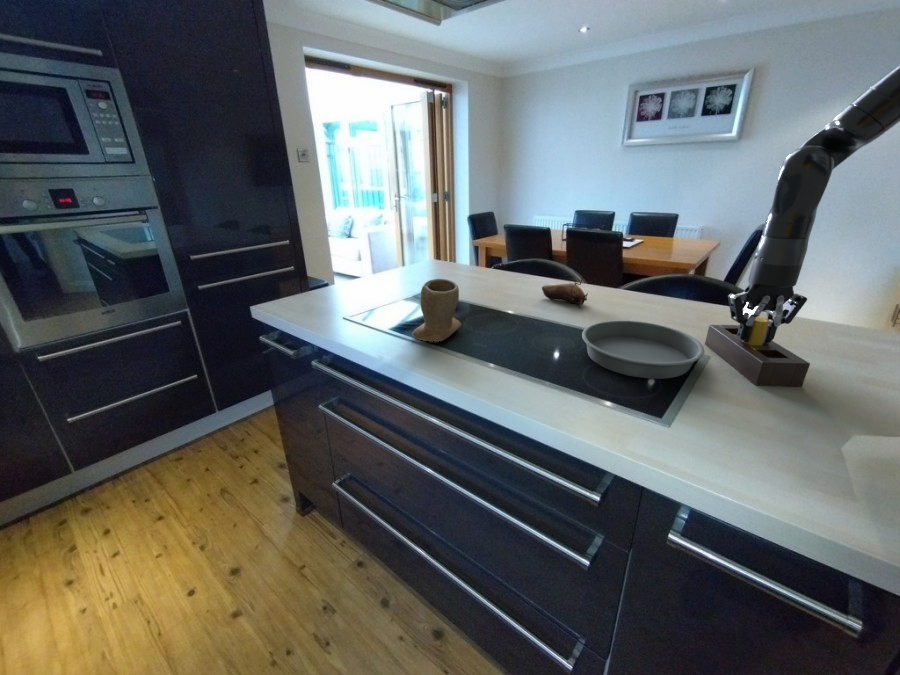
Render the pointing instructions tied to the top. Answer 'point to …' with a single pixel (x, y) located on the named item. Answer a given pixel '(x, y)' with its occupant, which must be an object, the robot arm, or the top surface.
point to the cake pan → (641, 349)
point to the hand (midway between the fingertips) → (754, 340)
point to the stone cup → (438, 310)
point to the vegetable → (565, 292)
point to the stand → (757, 358)
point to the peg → (758, 331)
